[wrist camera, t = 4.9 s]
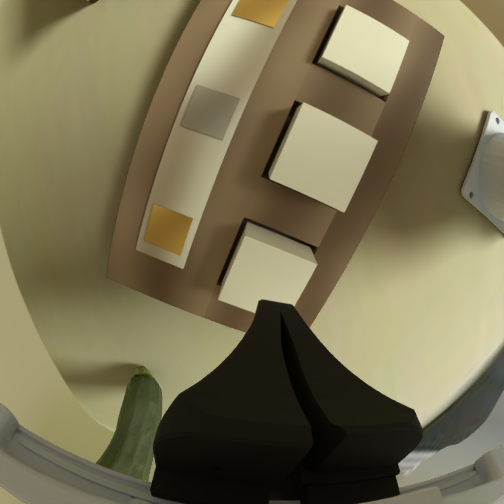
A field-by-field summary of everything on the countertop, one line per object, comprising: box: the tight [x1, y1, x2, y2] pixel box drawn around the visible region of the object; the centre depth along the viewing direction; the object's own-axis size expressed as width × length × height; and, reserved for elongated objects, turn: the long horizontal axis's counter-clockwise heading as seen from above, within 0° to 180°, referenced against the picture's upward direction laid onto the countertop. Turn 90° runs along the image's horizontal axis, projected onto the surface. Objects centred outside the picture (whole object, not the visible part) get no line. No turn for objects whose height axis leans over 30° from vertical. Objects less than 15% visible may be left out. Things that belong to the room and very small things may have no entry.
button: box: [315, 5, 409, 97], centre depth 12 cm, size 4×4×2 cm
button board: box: [106, 0, 444, 332], centre depth 15 cm, size 14×24×3 cm, turn 158°
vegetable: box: [96, 367, 162, 481], centre depth 15 cm, size 4×4×20 cm
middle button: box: [268, 102, 378, 212], centre depth 14 cm, size 4×4×2 cm
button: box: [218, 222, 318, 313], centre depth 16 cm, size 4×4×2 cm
